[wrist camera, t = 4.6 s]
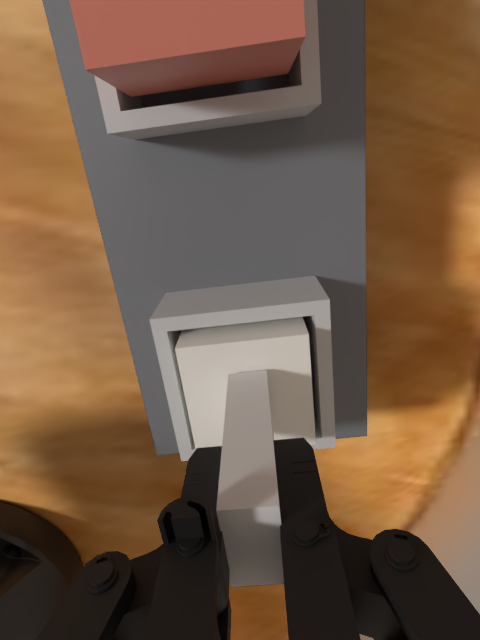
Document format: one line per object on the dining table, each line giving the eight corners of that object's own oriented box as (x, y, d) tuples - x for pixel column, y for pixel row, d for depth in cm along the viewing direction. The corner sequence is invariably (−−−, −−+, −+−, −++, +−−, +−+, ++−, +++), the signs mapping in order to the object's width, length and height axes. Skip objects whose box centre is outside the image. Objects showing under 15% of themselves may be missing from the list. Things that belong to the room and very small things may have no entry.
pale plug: (303, 393, 21) (315, 444, 17) (205, 403, 21) (196, 455, 17) (296, 300, 19) (308, 334, 15) (188, 312, 19) (174, 348, 15)
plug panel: (345, 388, 27) (388, 483, 19) (172, 405, 27) (142, 504, 19) (331, -124, 17) (405, -373, 9) (65, -78, 18) (-80, -272, 10)
